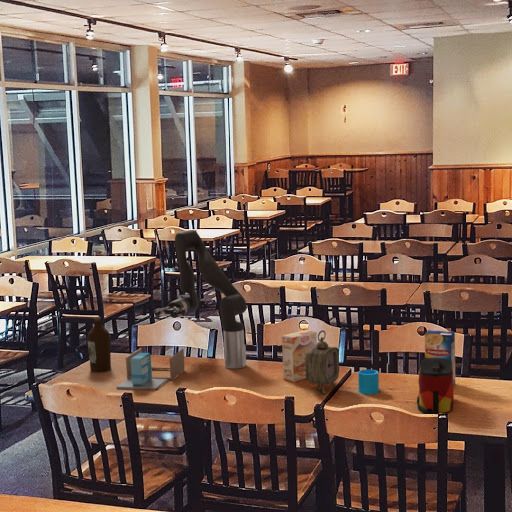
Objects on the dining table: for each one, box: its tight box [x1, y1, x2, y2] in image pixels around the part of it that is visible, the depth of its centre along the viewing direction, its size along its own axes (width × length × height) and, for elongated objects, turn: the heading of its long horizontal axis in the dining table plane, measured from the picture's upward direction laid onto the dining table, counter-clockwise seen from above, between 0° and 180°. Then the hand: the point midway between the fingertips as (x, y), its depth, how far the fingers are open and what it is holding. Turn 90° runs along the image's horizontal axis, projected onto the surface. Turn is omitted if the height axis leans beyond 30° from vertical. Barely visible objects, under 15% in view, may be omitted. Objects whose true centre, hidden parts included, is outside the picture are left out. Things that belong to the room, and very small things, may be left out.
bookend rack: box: [125, 347, 186, 381], centre depth 394 cm, size 21×17×10 cm
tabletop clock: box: [305, 329, 340, 395], centre depth 358 cm, size 14×9×25 cm, turn 151°
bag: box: [416, 358, 455, 415], centre depth 332 cm, size 30×14×16 cm, turn 168°
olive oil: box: [86, 316, 112, 373], centre depth 406 cm, size 11×11×25 cm
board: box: [116, 378, 168, 390], centre depth 378 cm, size 18×14×1 cm
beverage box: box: [424, 329, 456, 387], centre depth 358 cm, size 7×11×22 cm, turn 65°
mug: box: [357, 369, 380, 395], centre depth 356 cm, size 12×8×8 cm
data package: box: [131, 352, 153, 385], centre depth 378 cm, size 12×4×12 cm, turn 165°
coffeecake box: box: [281, 329, 318, 382], centre depth 379 cm, size 15×7×20 cm, turn 131°
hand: (165, 314), depth 396 cm, fingers open, 8 cm apart
